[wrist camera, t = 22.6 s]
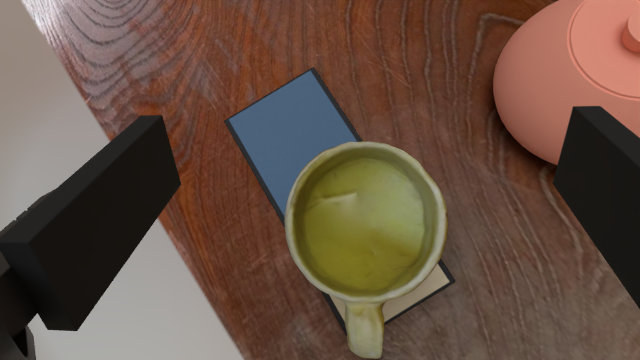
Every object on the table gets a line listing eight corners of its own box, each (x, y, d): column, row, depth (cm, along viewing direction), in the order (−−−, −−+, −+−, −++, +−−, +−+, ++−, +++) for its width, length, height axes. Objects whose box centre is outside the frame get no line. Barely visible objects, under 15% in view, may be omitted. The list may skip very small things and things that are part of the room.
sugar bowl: (514, 10, 34) (573, -98, 25) (699, 66, 32) (849, -30, 22) (461, 142, 32) (501, 84, 23) (653, 214, 30) (794, 184, 20)
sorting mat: (226, 123, 35) (223, 120, 34) (314, 70, 35) (313, 66, 35) (352, 344, 30) (352, 345, 29) (454, 281, 30) (456, 281, 30)
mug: (292, 135, 31) (310, 121, 22) (419, 164, 33) (490, 163, 23) (257, 295, 31) (259, 355, 22) (386, 317, 33) (443, 381, 23)
